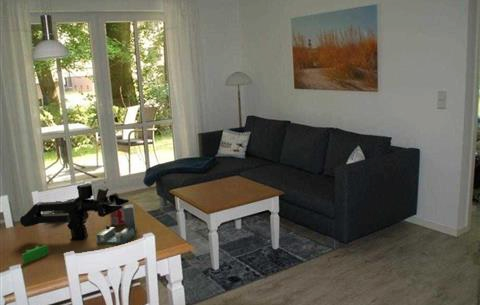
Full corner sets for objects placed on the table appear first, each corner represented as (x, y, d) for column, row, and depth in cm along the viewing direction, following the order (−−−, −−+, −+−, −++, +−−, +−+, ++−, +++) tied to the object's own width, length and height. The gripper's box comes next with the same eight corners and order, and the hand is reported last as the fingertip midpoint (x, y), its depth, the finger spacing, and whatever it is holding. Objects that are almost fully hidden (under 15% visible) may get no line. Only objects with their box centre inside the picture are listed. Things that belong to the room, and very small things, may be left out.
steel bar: (126, 233, 210) (123, 208, 207) (127, 229, 214) (124, 205, 212) (135, 232, 210) (132, 207, 208) (136, 228, 215) (133, 204, 213)
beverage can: (126, 219, 230) (123, 198, 228) (127, 224, 223) (124, 202, 220) (111, 222, 228) (108, 200, 225) (111, 226, 220) (108, 204, 218)
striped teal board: (97, 243, 200) (95, 232, 199) (109, 234, 210) (108, 223, 209) (123, 244, 196) (122, 233, 195) (134, 235, 207) (133, 224, 205)
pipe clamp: (44, 252, 193) (43, 243, 192) (49, 254, 191) (47, 245, 190) (20, 262, 184) (18, 252, 183) (24, 264, 182) (23, 254, 181)
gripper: (83, 194, 193) (116, 193, 192) (99, 183, 211) (130, 182, 210) (86, 217, 195) (118, 216, 194) (102, 204, 214) (132, 203, 212)
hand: (125, 203), depth 202 cm, fingers open, 9 cm apart
